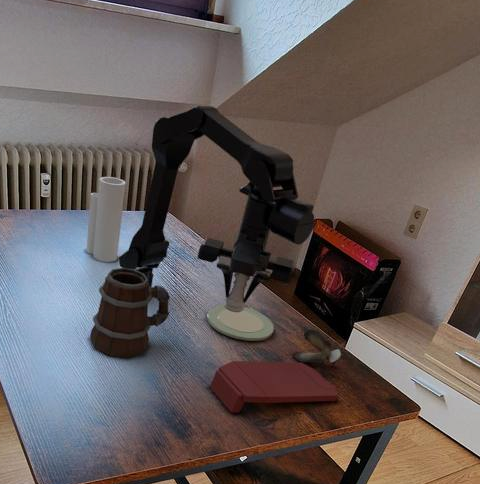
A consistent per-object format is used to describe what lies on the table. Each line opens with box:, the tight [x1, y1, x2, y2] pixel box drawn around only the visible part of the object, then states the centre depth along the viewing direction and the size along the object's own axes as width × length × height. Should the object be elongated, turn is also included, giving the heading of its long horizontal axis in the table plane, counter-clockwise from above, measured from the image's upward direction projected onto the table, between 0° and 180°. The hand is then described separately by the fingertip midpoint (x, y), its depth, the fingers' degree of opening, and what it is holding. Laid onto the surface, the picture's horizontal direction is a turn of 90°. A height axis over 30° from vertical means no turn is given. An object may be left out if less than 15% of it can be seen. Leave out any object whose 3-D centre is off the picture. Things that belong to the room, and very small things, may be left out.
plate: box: [206, 304, 275, 342], centre depth 127 cm, size 16×16×1 cm
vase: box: [85, 176, 126, 263], centre depth 142 cm, size 11×7×20 cm, turn 30°
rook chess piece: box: [223, 273, 251, 312], centre depth 109 cm, size 4×4×8 cm
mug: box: [89, 267, 171, 359], centre depth 108 cm, size 16×12×15 cm
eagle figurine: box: [294, 328, 345, 368], centre depth 117 cm, size 8×7×9 cm
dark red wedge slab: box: [209, 360, 339, 413], centre depth 106 cm, size 12×5×25 cm
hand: (235, 299), depth 111 cm, fingers closed on rook chess piece, 3 cm apart
